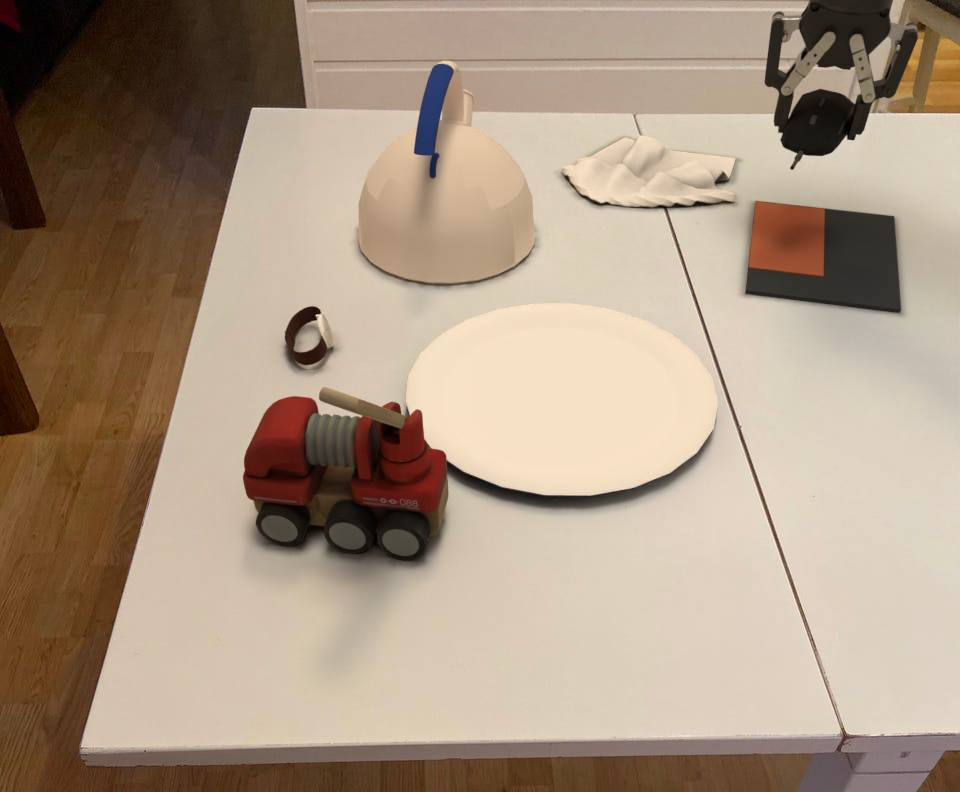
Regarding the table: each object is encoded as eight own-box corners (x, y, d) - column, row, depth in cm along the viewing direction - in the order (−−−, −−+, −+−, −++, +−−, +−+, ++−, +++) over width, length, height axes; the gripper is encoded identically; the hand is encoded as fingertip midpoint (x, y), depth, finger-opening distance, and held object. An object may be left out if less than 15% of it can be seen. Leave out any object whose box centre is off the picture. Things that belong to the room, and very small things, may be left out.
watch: (335, 368, 94) (330, 336, 92) (286, 372, 94) (280, 340, 91) (333, 324, 99) (328, 292, 96) (287, 327, 99) (281, 295, 96)
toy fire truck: (280, 475, 85) (241, 293, 71) (454, 495, 83) (449, 313, 69) (238, 568, 78) (186, 386, 64) (427, 592, 76) (415, 410, 62)
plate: (366, 351, 96) (364, 336, 95) (626, 291, 103) (628, 277, 102) (473, 545, 79) (473, 531, 78) (776, 458, 86) (781, 443, 85)
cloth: (538, 175, 120) (539, 155, 118) (658, 124, 129) (660, 105, 127) (659, 239, 110) (662, 218, 108) (780, 179, 119) (785, 159, 117)
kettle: (546, 201, 115) (556, 32, 101) (520, 294, 103) (527, 117, 89) (382, 186, 118) (369, 20, 104) (337, 276, 105) (315, 100, 91)
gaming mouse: (761, 163, 98) (770, 122, 95) (801, 107, 106) (811, 68, 103) (822, 177, 96) (834, 135, 93) (858, 119, 104) (870, 79, 101)
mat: (893, 219, 113) (894, 214, 112) (900, 312, 101) (901, 308, 100) (755, 203, 115) (756, 199, 115) (745, 293, 103) (746, 288, 102)
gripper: (783, -50, 86) (744, 142, 99) (951, -38, 84) (888, 157, 97) (786, -75, 91) (748, 112, 104) (945, -65, 89) (886, 125, 101)
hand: (816, 133), depth 100 cm, fingers closed on gaming mouse, 6 cm apart
